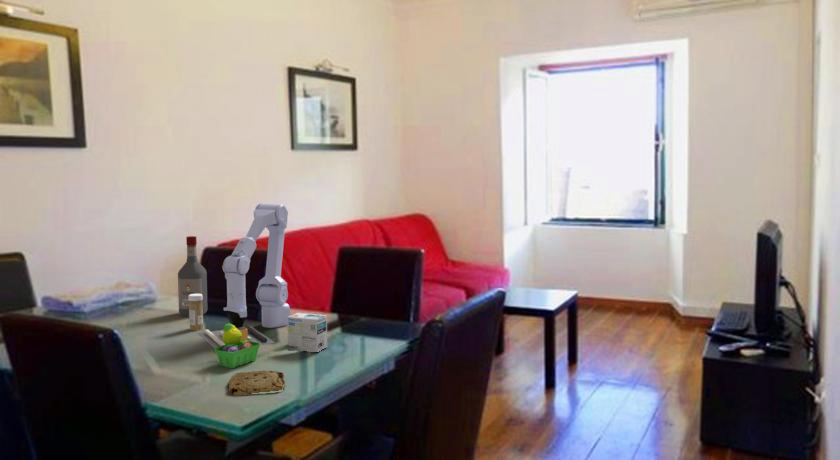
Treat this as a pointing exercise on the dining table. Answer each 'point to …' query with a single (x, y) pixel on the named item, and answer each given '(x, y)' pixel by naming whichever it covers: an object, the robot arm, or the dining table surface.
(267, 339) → the dark grey rounded rod
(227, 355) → the fruit basket
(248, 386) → the pastry
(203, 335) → the panel
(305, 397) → the dining table surface
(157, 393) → the dining table surface
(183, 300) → the liquor
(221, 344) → the white rounded rod
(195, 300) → the sprinkles bottle
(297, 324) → the light bulb box
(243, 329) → the block
